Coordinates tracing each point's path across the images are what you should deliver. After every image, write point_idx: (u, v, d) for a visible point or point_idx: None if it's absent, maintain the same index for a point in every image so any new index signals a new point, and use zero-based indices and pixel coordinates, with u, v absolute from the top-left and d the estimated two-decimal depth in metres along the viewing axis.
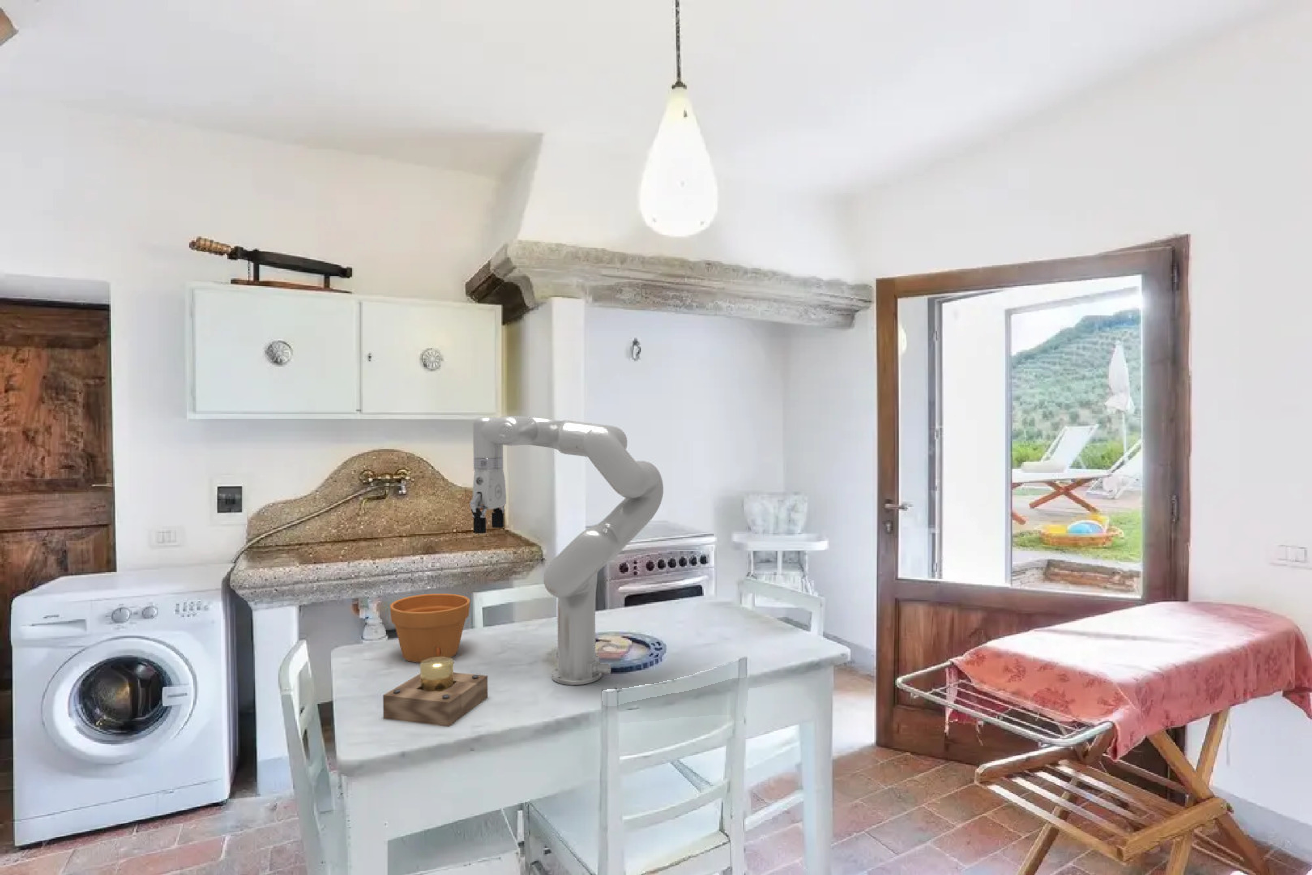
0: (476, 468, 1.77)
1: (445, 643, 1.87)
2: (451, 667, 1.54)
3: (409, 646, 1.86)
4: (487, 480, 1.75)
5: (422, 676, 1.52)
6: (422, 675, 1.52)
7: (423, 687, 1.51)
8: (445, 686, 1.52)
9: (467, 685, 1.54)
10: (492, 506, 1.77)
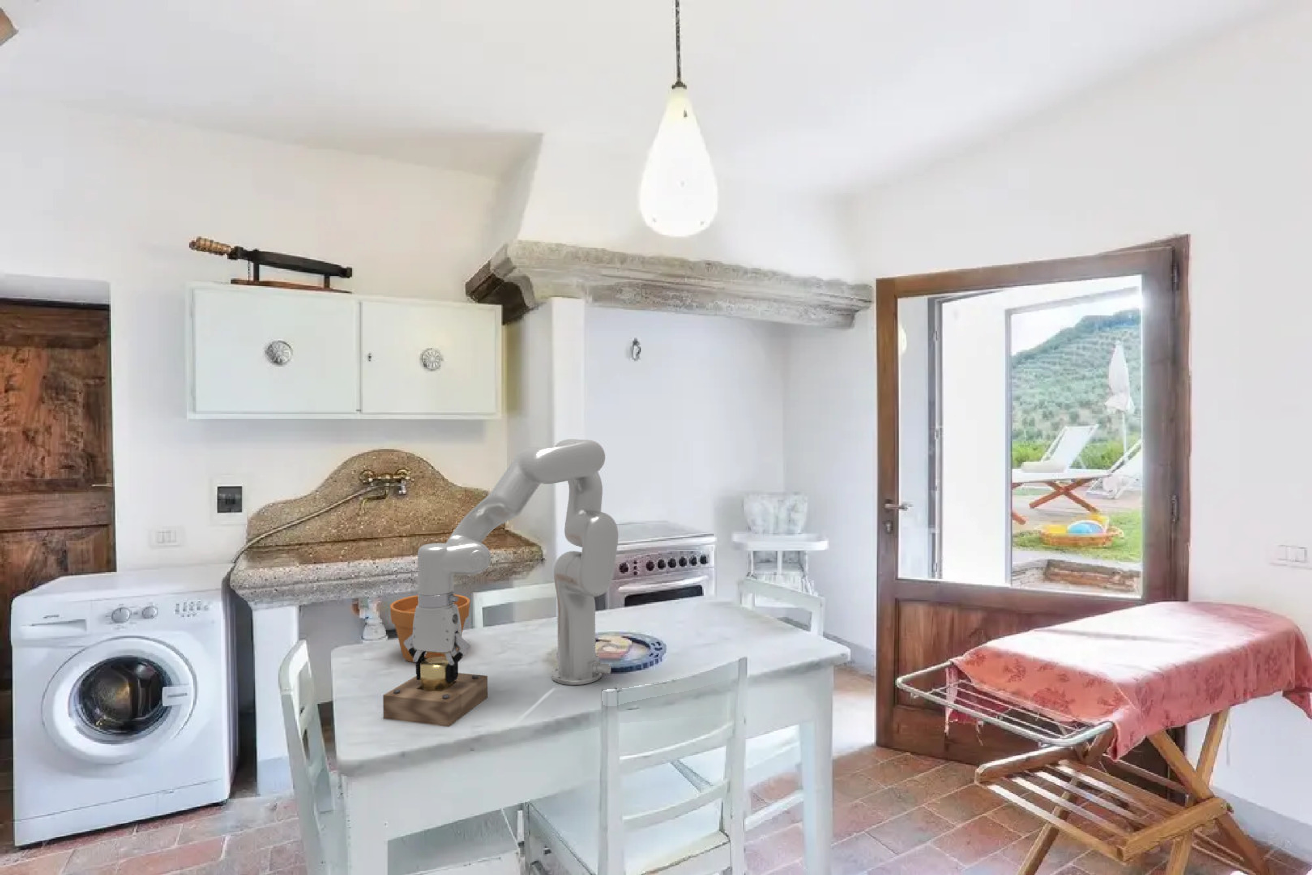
0: (445, 606, 1.51)
1: None
2: None
3: None
4: (459, 615, 1.55)
5: (421, 676, 1.52)
6: (422, 675, 1.52)
7: (423, 687, 1.51)
8: (445, 686, 1.52)
9: (467, 685, 1.54)
10: None
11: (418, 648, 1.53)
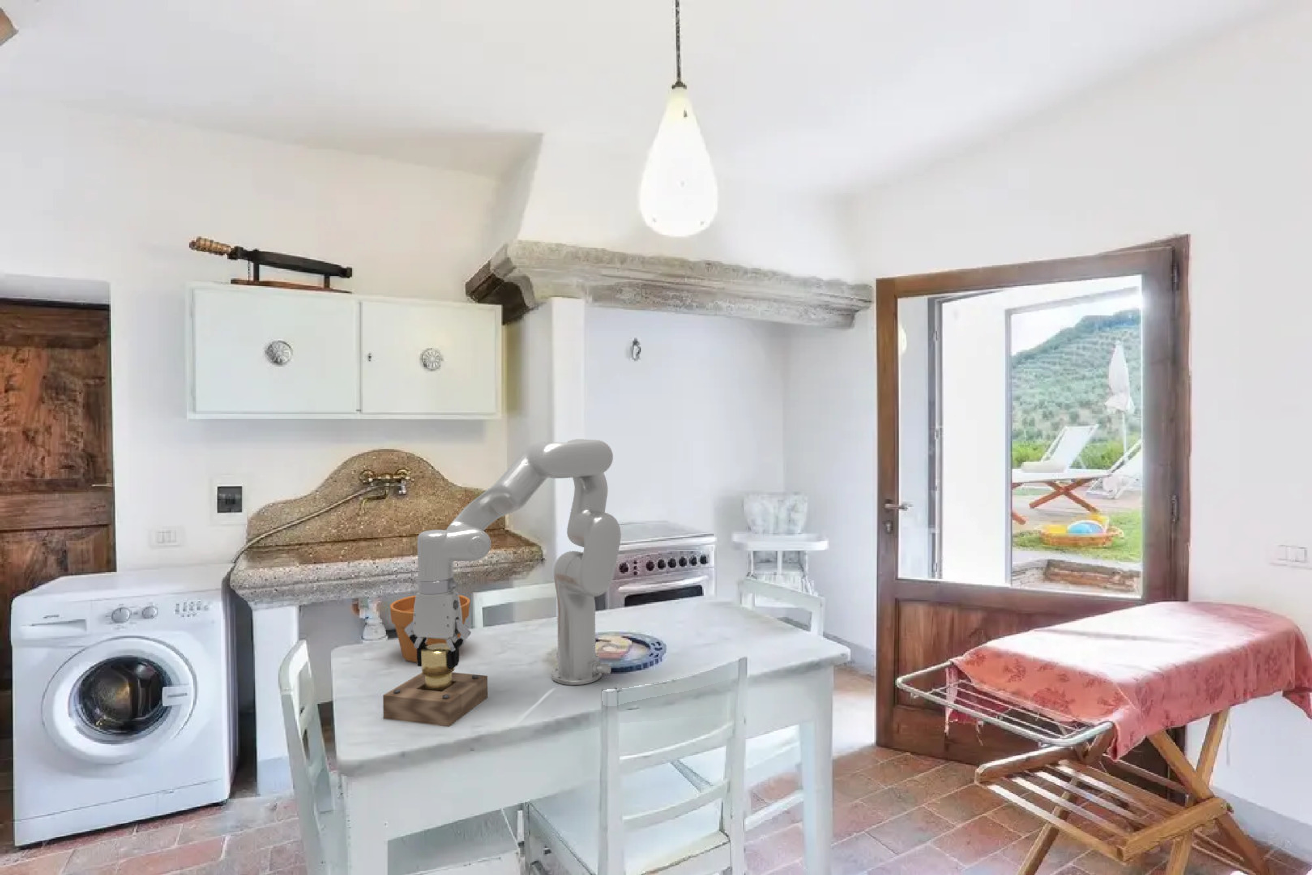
0: (445, 592, 1.51)
1: None
2: None
3: (409, 646, 1.86)
4: (459, 601, 1.55)
5: (423, 662, 1.52)
6: (423, 661, 1.52)
7: (424, 673, 1.52)
8: (446, 672, 1.52)
9: (467, 685, 1.54)
10: None
11: (419, 634, 1.53)
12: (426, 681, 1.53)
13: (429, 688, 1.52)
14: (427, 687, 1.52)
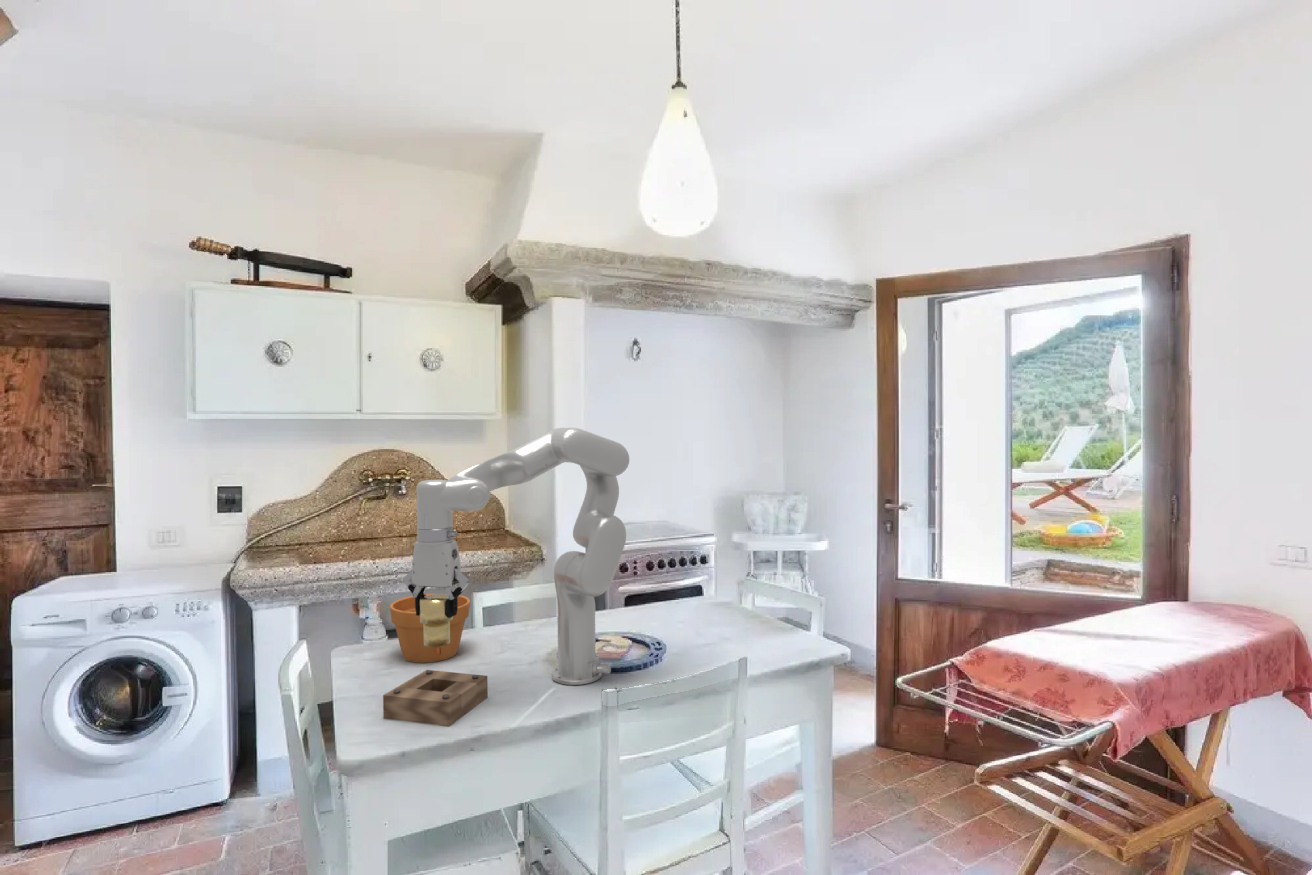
0: (444, 540, 1.52)
1: None
2: None
3: (409, 646, 1.86)
4: (458, 551, 1.55)
5: (421, 611, 1.52)
6: (421, 610, 1.52)
7: (422, 622, 1.52)
8: (444, 621, 1.52)
9: (467, 685, 1.54)
10: None
11: (417, 583, 1.53)
12: (424, 630, 1.53)
13: (427, 637, 1.52)
14: (425, 636, 1.52)
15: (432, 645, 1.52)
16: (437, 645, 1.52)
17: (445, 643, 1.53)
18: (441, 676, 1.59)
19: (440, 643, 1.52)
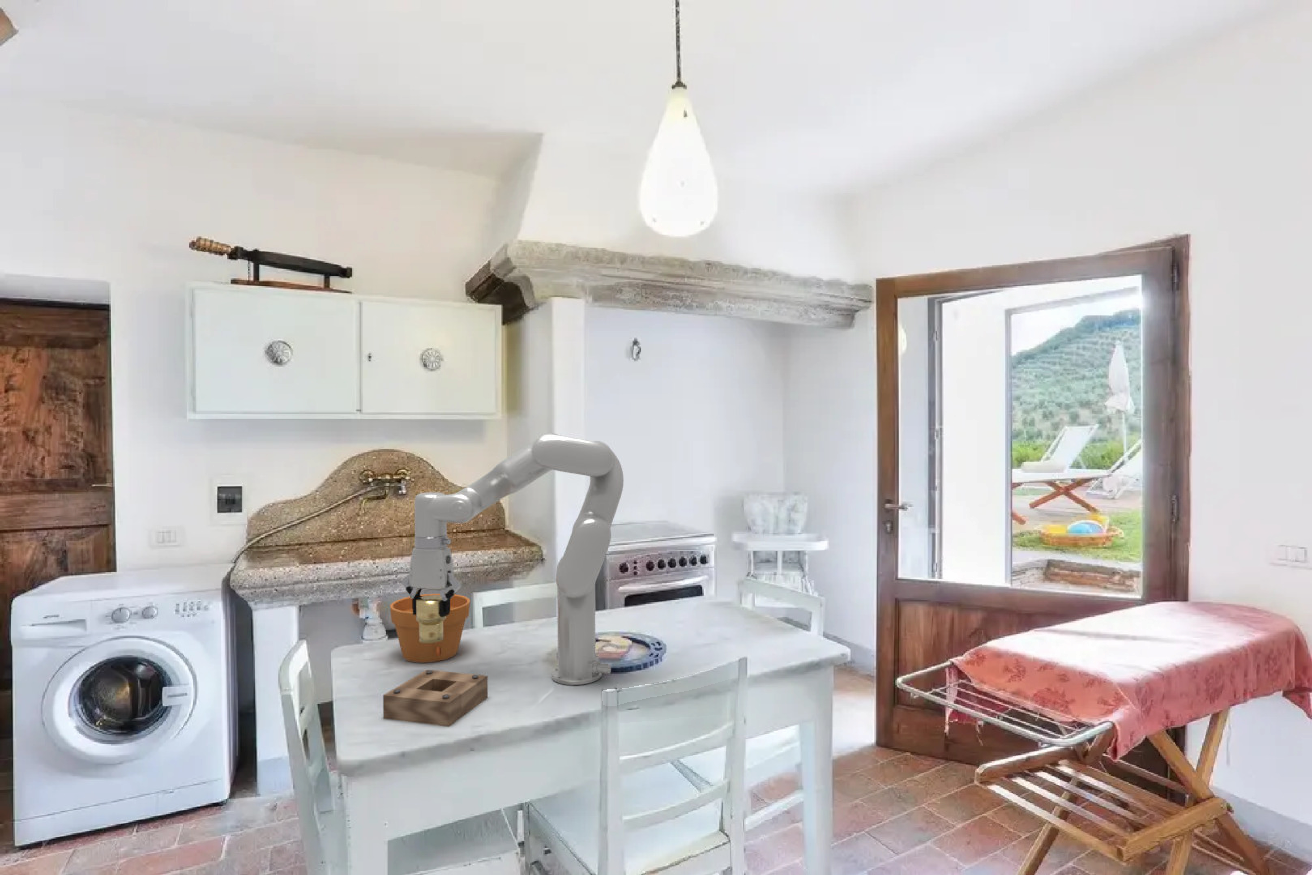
0: (439, 547, 1.69)
1: (445, 643, 1.87)
2: None
3: (409, 646, 1.86)
4: (451, 557, 1.72)
5: (417, 610, 1.69)
6: (418, 609, 1.69)
7: (418, 620, 1.69)
8: (438, 620, 1.69)
9: (467, 685, 1.54)
10: None
11: (414, 586, 1.70)
12: (420, 627, 1.70)
13: (422, 634, 1.69)
14: (421, 633, 1.69)
15: (427, 641, 1.69)
16: (431, 641, 1.69)
17: (438, 640, 1.70)
18: (441, 676, 1.59)
19: (434, 639, 1.69)
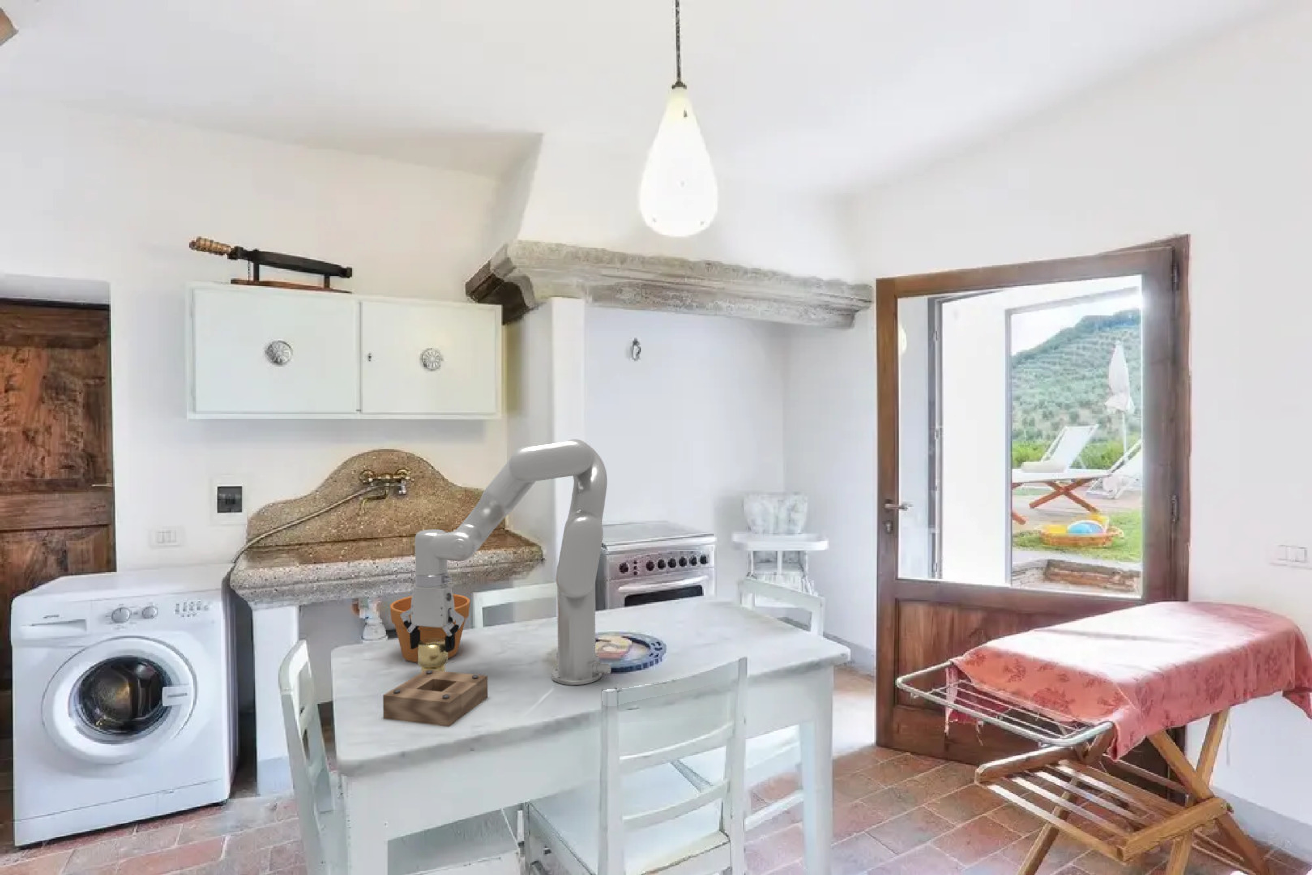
0: (440, 585, 1.69)
1: None
2: None
3: (409, 646, 1.86)
4: (452, 594, 1.72)
5: (419, 655, 1.69)
6: (419, 654, 1.69)
7: (420, 664, 1.69)
8: (440, 664, 1.69)
9: (467, 685, 1.54)
10: None
11: (415, 623, 1.70)
12: None
13: None
14: None
15: None
16: None
17: None
18: (441, 676, 1.59)
19: None
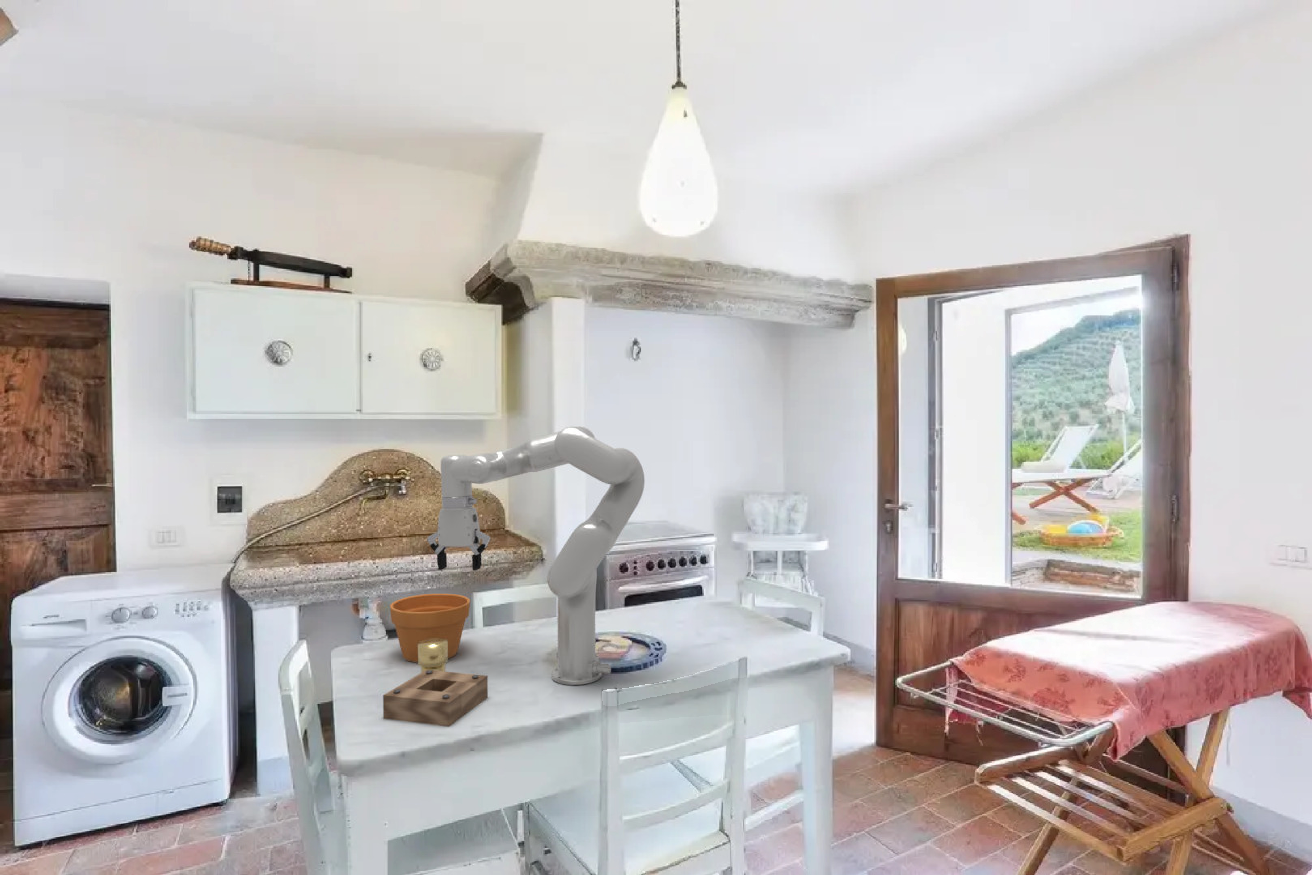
0: (466, 506, 1.77)
1: None
2: (445, 647, 1.71)
3: (409, 646, 1.86)
4: (477, 516, 1.80)
5: (419, 655, 1.69)
6: (419, 654, 1.69)
7: (420, 665, 1.69)
8: (440, 664, 1.69)
9: (467, 685, 1.54)
10: None
11: (443, 544, 1.78)
12: None
13: None
14: None
15: None
16: None
17: None
18: (441, 676, 1.59)
19: None
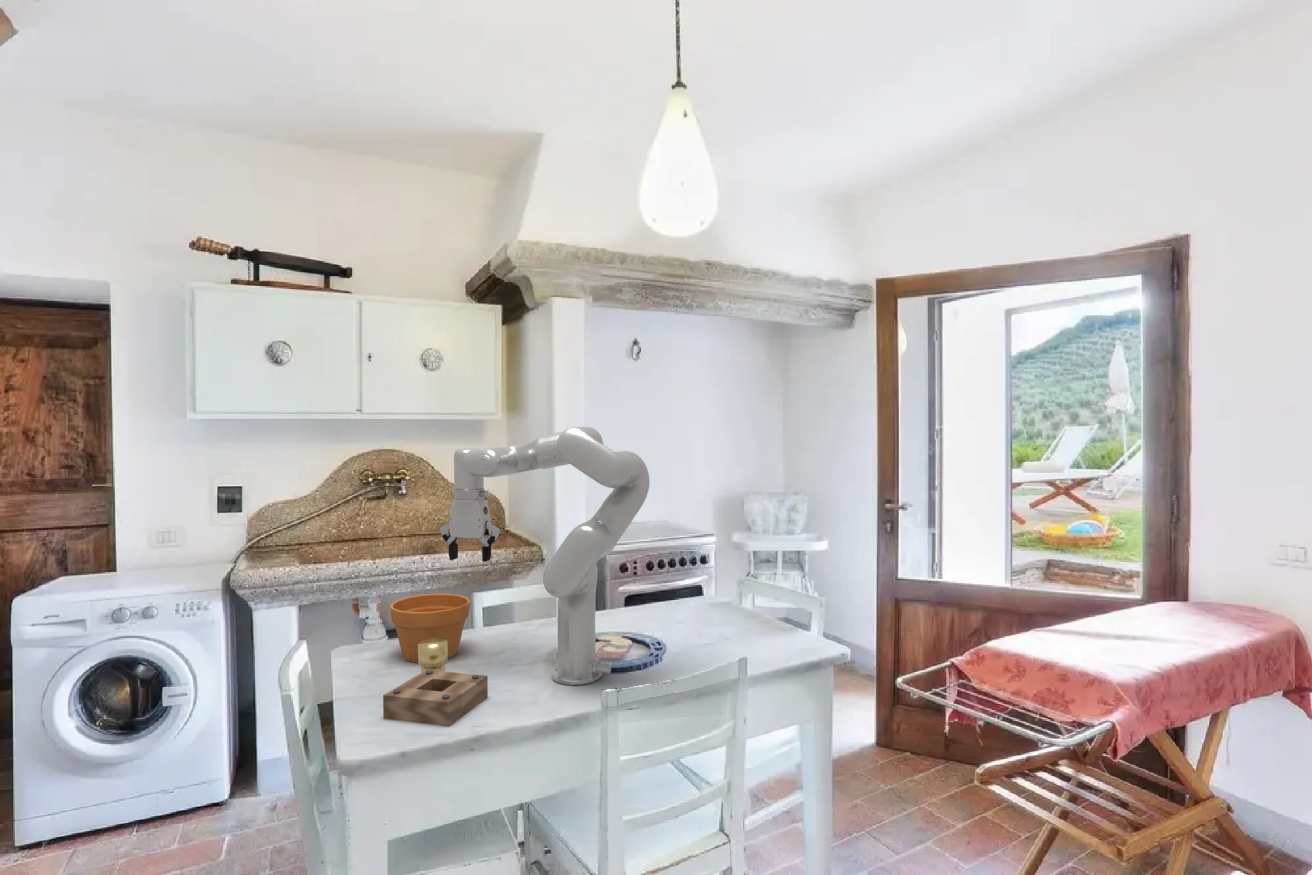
0: (477, 499, 1.80)
1: None
2: (445, 647, 1.71)
3: (409, 646, 1.86)
4: (488, 508, 1.84)
5: (419, 655, 1.69)
6: (419, 654, 1.69)
7: (420, 664, 1.69)
8: (440, 664, 1.69)
9: (467, 685, 1.54)
10: None
11: (454, 535, 1.82)
12: None
13: None
14: None
15: None
16: None
17: None
18: (441, 676, 1.59)
19: None
